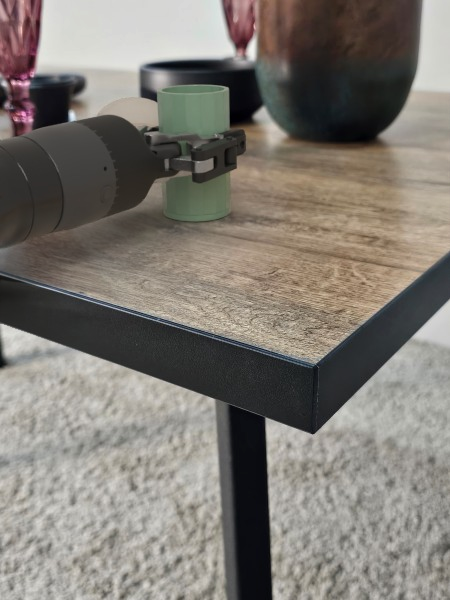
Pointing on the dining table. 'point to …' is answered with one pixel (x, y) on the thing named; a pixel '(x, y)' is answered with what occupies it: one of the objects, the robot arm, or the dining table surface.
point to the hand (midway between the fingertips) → (210, 137)
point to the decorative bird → (133, 111)
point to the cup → (203, 121)
